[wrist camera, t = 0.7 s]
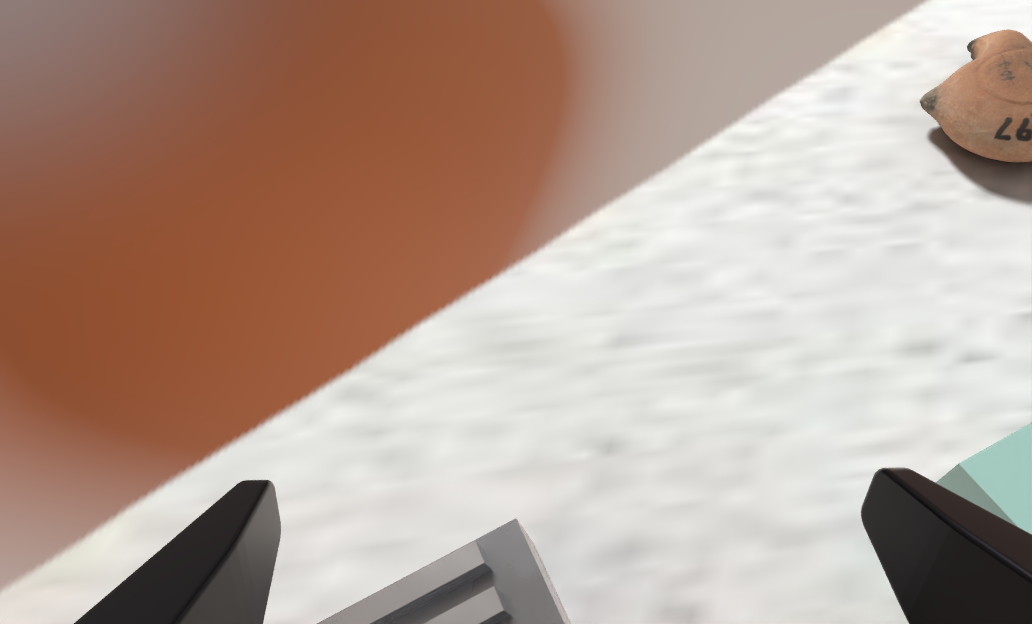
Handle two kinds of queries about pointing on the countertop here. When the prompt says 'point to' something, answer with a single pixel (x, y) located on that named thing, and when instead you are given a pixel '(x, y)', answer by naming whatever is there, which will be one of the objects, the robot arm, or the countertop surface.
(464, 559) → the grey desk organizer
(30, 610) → the countertop surface
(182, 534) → the robot arm
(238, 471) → the countertop surface
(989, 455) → the mint green box
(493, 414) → the countertop surface
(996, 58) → the brown rounded lump
